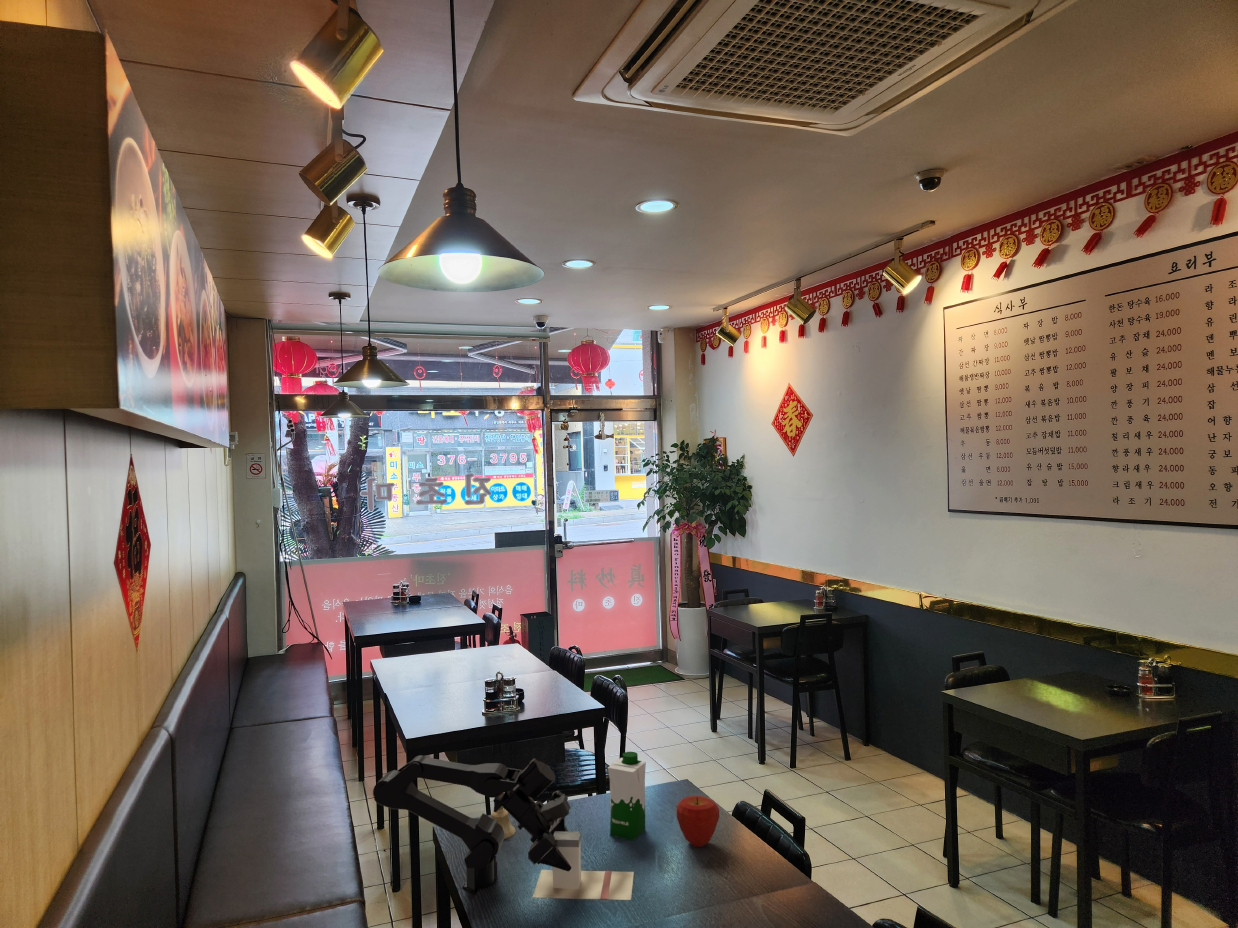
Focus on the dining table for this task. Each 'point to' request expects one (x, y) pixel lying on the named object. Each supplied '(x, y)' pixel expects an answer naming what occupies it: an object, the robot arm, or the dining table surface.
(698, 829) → the apple
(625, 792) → the milk carton
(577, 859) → the white slab
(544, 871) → the board
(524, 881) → the dining table surface
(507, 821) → the hand bell
